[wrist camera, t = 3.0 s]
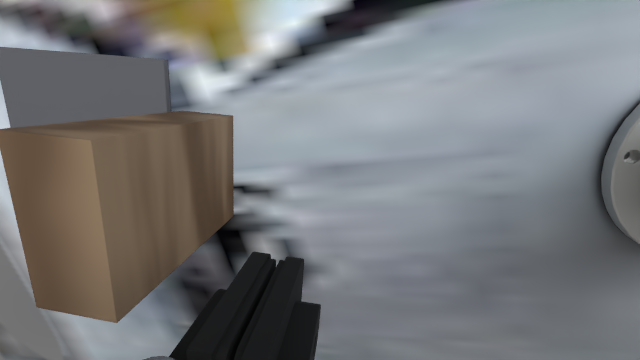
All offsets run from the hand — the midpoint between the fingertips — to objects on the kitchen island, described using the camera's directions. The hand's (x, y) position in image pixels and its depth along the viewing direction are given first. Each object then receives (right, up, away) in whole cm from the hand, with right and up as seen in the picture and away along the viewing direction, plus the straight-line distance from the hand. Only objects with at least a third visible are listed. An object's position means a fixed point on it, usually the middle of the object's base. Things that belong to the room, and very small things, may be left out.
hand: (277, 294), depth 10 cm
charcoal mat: (-17, +6, +15) cm, 23 cm away
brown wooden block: (-7, +5, +14) cm, 16 cm away
